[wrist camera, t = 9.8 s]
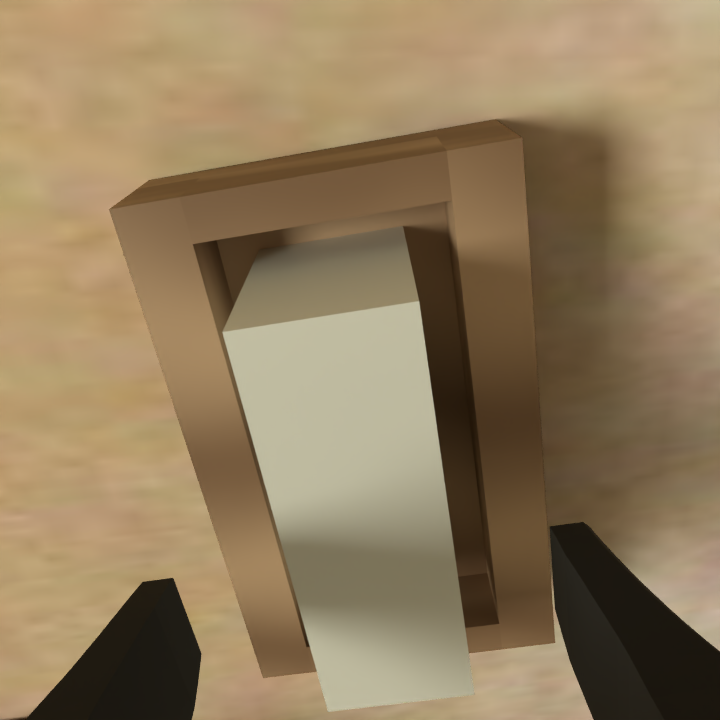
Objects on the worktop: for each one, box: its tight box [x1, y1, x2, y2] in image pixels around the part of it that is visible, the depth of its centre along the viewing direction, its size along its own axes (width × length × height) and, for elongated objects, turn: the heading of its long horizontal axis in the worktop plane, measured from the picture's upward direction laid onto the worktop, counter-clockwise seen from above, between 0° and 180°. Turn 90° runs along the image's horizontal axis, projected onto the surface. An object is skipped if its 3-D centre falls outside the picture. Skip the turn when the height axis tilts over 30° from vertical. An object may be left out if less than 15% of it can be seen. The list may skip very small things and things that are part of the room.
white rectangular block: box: [222, 226, 474, 712], centre depth 16 cm, size 10×4×5 cm, turn 10°
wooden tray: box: [109, 119, 555, 678], centre depth 18 cm, size 14×8×3 cm, turn 10°
